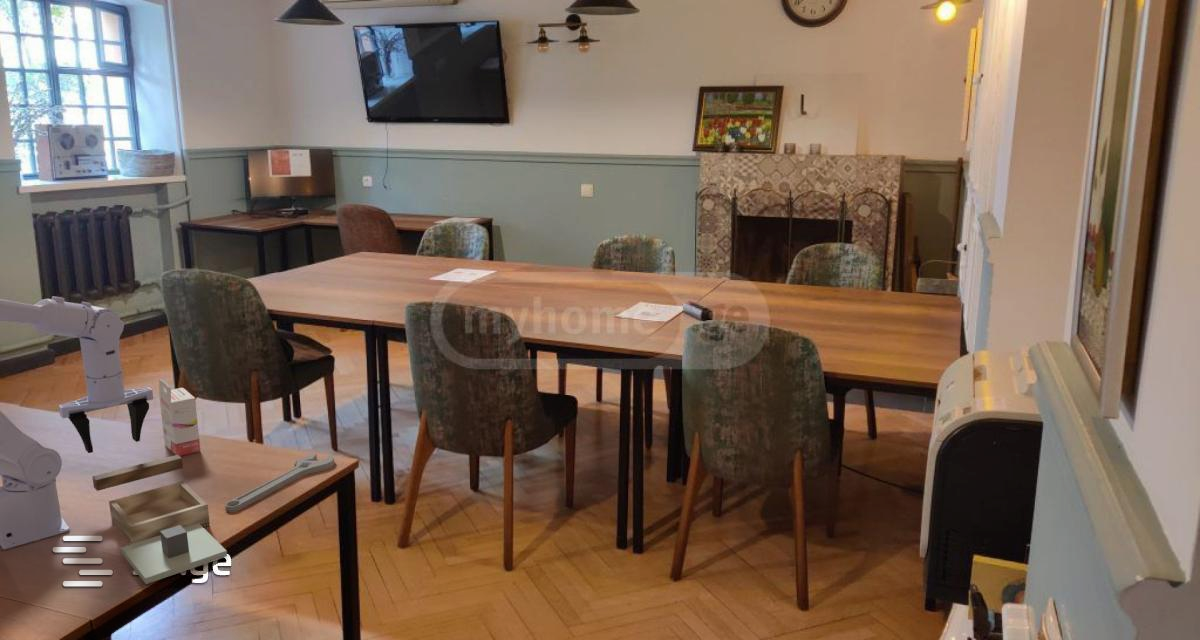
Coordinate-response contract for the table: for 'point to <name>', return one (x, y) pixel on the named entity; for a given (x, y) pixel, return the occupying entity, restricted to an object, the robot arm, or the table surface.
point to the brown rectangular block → (137, 472)
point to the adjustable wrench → (281, 481)
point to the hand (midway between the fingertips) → (113, 445)
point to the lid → (172, 552)
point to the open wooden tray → (158, 511)
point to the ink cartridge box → (179, 420)
